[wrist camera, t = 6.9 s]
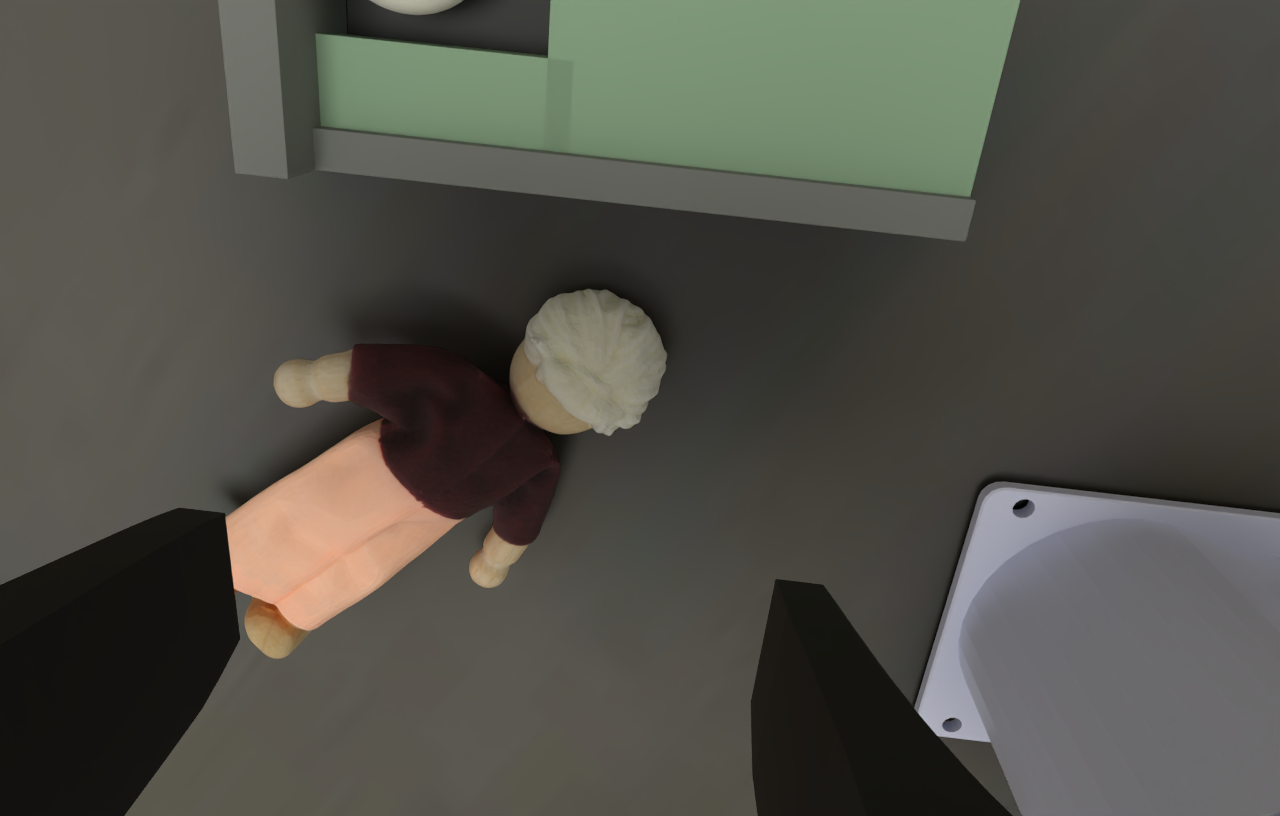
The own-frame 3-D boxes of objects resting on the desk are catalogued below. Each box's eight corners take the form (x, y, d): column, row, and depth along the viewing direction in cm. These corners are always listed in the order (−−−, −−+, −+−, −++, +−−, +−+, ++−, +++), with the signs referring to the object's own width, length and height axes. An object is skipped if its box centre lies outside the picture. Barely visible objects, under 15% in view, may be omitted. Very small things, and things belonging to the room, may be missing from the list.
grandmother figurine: (342, 576, 25) (704, 366, 22) (337, 694, 22) (748, 472, 20) (103, 448, 20) (538, 150, 17) (60, 583, 17) (568, 257, 14)
